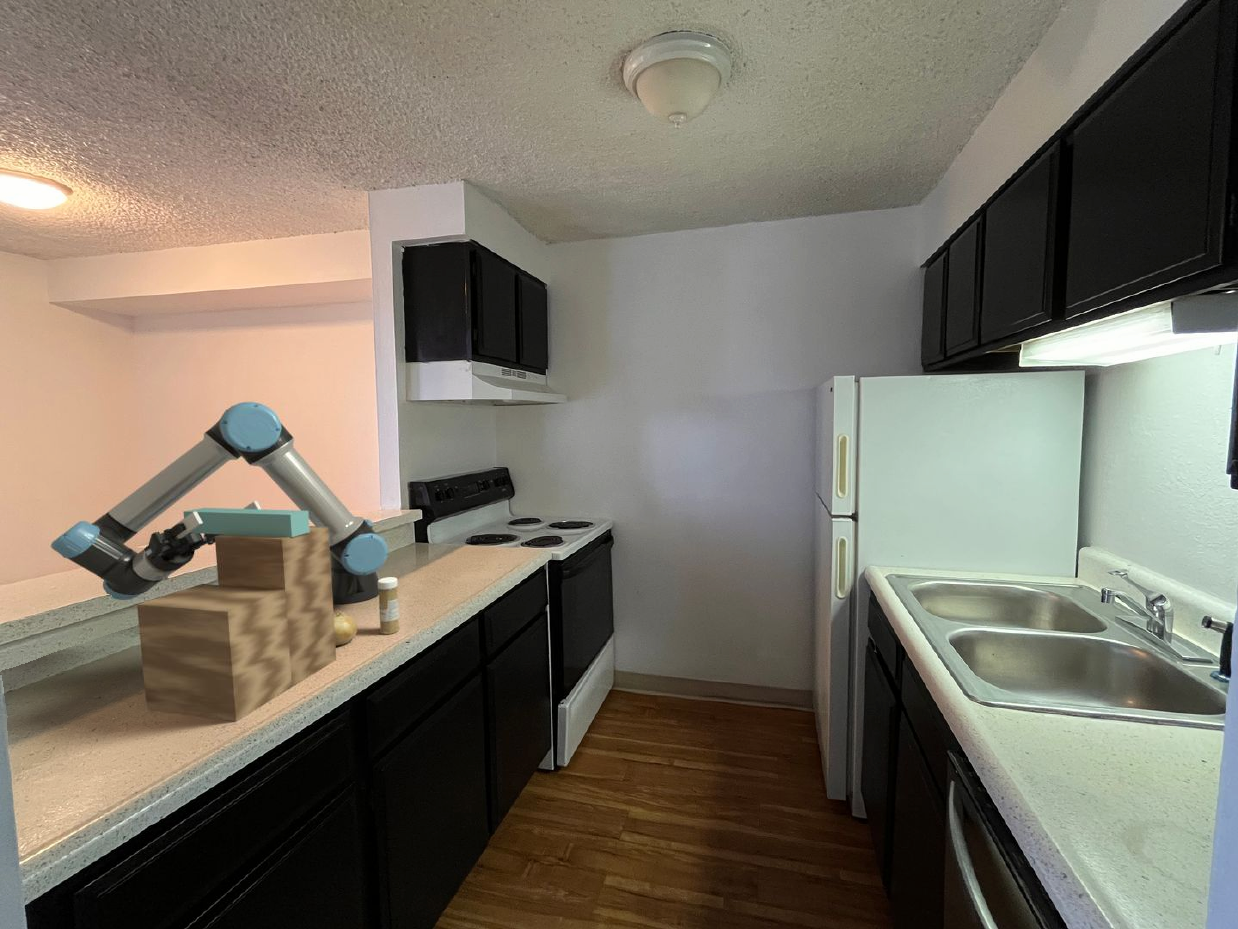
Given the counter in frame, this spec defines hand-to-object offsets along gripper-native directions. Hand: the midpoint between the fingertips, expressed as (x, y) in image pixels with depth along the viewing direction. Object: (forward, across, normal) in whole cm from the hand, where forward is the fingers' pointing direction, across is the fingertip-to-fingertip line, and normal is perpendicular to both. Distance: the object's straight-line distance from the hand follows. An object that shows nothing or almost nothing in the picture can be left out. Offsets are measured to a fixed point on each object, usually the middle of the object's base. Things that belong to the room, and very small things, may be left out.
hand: (230, 511), depth 110 cm
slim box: (+3, +2, -6) cm, 7 cm away
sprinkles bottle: (+1, -22, -40) cm, 46 cm away
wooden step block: (-9, +6, -34) cm, 36 cm away
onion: (-6, -14, -36) cm, 39 cm away
